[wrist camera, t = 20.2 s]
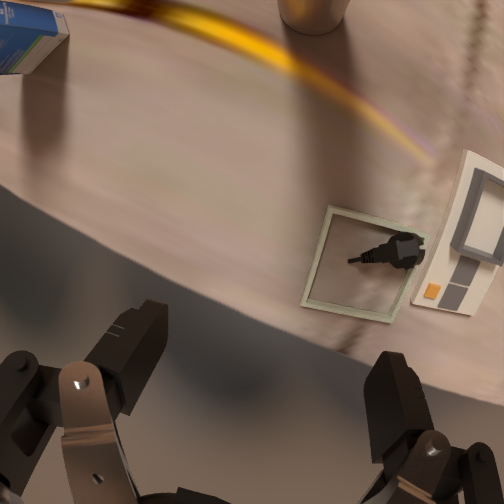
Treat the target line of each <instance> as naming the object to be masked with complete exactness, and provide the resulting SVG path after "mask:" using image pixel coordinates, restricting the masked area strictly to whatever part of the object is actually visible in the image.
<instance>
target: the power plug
mask: <svg viewBox="0 0 504 504" xmlns="http://www.w3.org/2000/svg"><path fill="white" fill-rule="evenodd" d="M421 245H424V242H423V240H422V239H421V238H420V236H418V235H417V234H415V233H411V232H404V231H403V232H399V233H398V235H394V236H392V237H391V238H390V239H389V241H388V243H386V244H381V245H379V247H377V248H373V249H371V250H369V251H367V252H364V253H362V254H361V255H360V256H361V257H358V258H353V259H349V260H348V263H354V262H359V261H361V262H362V263H380V262H382V263H386V262H389V263H390V264H391V265H392V266H394V267H395V268H397V269H398V268H404V269H405V270H407V269H413V268H414V266H416V265H420V264H421V262H422V261H423V259H424V256H425V249H422V247H421Z"/></svg>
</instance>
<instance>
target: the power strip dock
mask: <svg viewBox="0 0 504 504" xmlns="http://www.w3.org/2000/svg"><path fill="white" fill-rule="evenodd" d="M503 262H504V168H502V167H500V166H499V165H497V164H495V163H493V162H491V161H489V160H487V159H486V158H484V157H482V156H480V155H478V154H476V153H474V152H472V151H470V150H467V149H463V153H462V157H461V161H460V165H459V169H458V172H457V176H456V180H455V183H454V187H453V190H452V193H451V197H450V200H449V203H448V206H447V209H446V212H445V215H444V218H443V221H442V224H441V227H440V229H439V232H438V235H437V238H436V240H435V243H434V245H433V248H432V251H431V253H430V256H429V258H428V261H427V263H426V265H425V268H424V270H423V272H422V275H421V277H420V279H419V281H418V284H417V286H416V288H415V290H414V292H413V295H412V297H411V299H410V300H411V302H412V304H416V305H421V306H426V307H431V308H436V309H441V310H446V311H451V312H456V313H461V314H467V315H472V316H474V315H475V313H476V311H477V309H478V307H479V306H480V304H481V302H482V300H483V298H484V296H485V294H486V292H487V290H488V288H489V286H490V284H491V282H492V280H493V278H494V276H495V273H496V271H497V269H498V267H499V266H501V267H502V265H503Z"/></svg>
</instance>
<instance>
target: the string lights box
mask: <svg viewBox="0 0 504 504" xmlns="http://www.w3.org/2000/svg"><path fill="white" fill-rule="evenodd" d="M68 36H69V32H68V29H67V26H66V23H65V19H64V16H63V13H61V12H57V11H53V10H48V9H44V8H39V7H35V6H30V5H24V4H19V3H13V2H6V1H0V75H10V74H31V73H32V72H33V71H34V70H35V68H36V67H37V66H38V65H39V64H40V63H41V62H42V61H43V60H44V59H45V58H46V57H47V56H48V55H49V54H50V53H51V52H52V51H53V50H54V49H55V48H56V47H57V46H58V45H59V44H60V43H61V42H62V41H63V40H64V39H65V38H66V37H68Z"/></svg>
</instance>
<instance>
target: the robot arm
mask: <svg viewBox="0 0 504 504" xmlns="http://www.w3.org/2000/svg"><path fill="white" fill-rule="evenodd" d="M277 2H278V8H279V12H280V15H281V17H282V19H283V21H284V22H285V23H286V24H287V25H288V26H289V27H291V28H292V29H294V30H296V31H298V32H300V33H304V34H309V35H320V34H325V33H328V32H330V31H332V30H333V29H335V28H336V27H337V26H338V25H339V23H340V21H341V19H342V17H343V15H344V13H345V11H346V8H347V6H348V4H349V2H350V0H277ZM167 340H168V305H167V304H165V303H162V302H158V301H155V300H151V299H147V300H146V301H145V302H144V303H143V305H142V306H141V307H140V309H139V310H137V309H134V308H131V309H129V310H127V311H125V312H124V313H122V314H120V316H119V317H118V318H117V319H116V320H115V322H114V323H113V325H112V326H110V328H109V329H108V330H107V333H105V334H104V335H103V336H102V338H101V339H100V340H99V342H98V343H97V344H96V345H95V347H94V348H93V349H92V351H91V352H90V353H89V354H88V356H87V357H86V358H85V360H84V361H76V362H72V363H70V364H68V365H66V366H65V367H64V368H63V369H59V368H53V367H48V366H42V365H39V363H38V361H37V358H36V357H35V356H34V355H33V354H32V353H30V352H28V351H16V352H13V353H11V354H10V355H8V356H7V357H6V358H5V360H4V361H3V362H2V363H1V364H0V504H24V502H23V501H22V499H21V495H22V493H23V491H24V489H25V487H26V485H27V483H28V481H29V478H30V476H31V474H32V472H33V470H34V468H35V466H36V464H37V463H38V460H39V459H40V457H41V455H42V453H43V451H44V449H45V447H46V445H47V443H48V442H49V440H50V438H51V436H52V434H53V432H54V430H55V429H56V427H57V426H59V427H64V436H62V437H61V447H62V453H63V458H64V463H65V468H66V473H67V477H68V482H69V485H70V489H71V493H72V497H73V500H74V504H231V503H228V502H226V501H224V500H222V499H219V498H217V497H215V496H210V495H206V494H202V493H199V492H194V491H191V490H187V489H184V488H180V487H178V489H177V493H154V494H148V495H144V496H141V495H140V492H139V490H138V487H137V485H136V482H135V480H134V478H133V475H132V472H131V470H130V467H129V464H128V462H127V459H126V456H125V452H124V449H123V446H122V443H121V440H120V436H119V433H118V429H117V426H116V422H115V420H116V418H117V417H118V415H119V413H120V412H121V413H123V414H126V415H128V416H130V414H131V412H132V410H133V408H134V406H135V404H136V402H137V401H138V398H139V397H140V395H141V393H142V391H143V389H144V387H145V385H146V383H147V382H148V380H149V378H150V376H151V374H152V372H153V370H154V368H155V367H156V364H157V363H158V361H159V359H160V357H161V356H162V354H163V352H164V349H165V347H166V344H167ZM424 398H425V395H424V392H423V390H422V386H421V383H420V380H419V377H418V376H417V375H416V373H415V372H414V371H413V369H412V368H410V367H408V366H407V363H406V360H405V357H404V355H403V354H402V353H397V352H389V351H383V352H382V353H381V355H380V356H379V358H378V360H377V361H376V363H375V365H374V367H373V368H372V370H371V371H370V373H369V375H368V377H367V378H366V381H365V384H364V399H365V406H366V414H367V421H368V429H369V438H370V447H371V456H372V463H383V466H384V469H383V470H381V471H380V473H379V474H378V475H377V477H376V478H375V480H374V481H373V482H372V484H371V485H370V487H369V488H368V489H367V491H366V492H365V493H364V494H363V496H362V497H361V498H360V500H359V501H358V502H357V503H356V504H459V500H458V493H460V492H461V491H464V499H465V504H504V499H503V494H502V489H501V484H500V479H499V475H498V471H497V466H496V462H495V458H494V454H493V452H492V450H491V449H490V448H489V447H488V446H487V445H486V444H484V443H481V442H477V443H474V444H473V445H471V446H470V447H469V448H468V449H467V450H464V449H461V448H457V447H452V446H451V445H450V442H449V440H448V438H447V437H446V436H445V435H444V434H443V433H441V432H439V431H437V430H435V429H434V426H433V423H432V419H431V415H430V412H429V409H428V405H427V402H426V399H424Z"/></svg>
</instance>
